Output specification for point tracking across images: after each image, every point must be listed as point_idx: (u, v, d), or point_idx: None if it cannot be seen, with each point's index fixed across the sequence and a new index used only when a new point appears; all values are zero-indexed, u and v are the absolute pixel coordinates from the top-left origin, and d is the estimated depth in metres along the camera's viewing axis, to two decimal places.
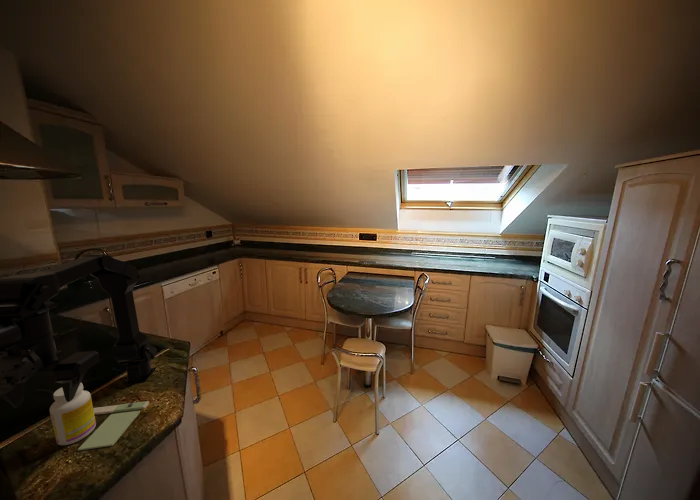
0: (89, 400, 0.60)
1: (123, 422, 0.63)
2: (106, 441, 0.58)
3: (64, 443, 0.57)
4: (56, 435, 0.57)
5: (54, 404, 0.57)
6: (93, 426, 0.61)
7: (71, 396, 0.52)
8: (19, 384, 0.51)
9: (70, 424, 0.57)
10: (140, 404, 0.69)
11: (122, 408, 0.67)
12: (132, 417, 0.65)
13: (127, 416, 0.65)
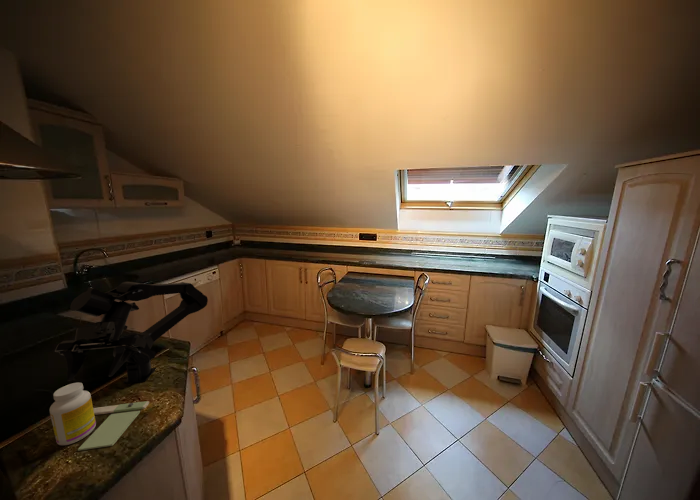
0: (89, 400, 0.60)
1: (123, 422, 0.63)
2: (106, 441, 0.58)
3: (64, 443, 0.57)
4: (56, 435, 0.57)
5: (54, 404, 0.57)
6: (93, 426, 0.61)
7: (113, 371, 0.65)
8: (79, 364, 0.66)
9: (70, 424, 0.57)
10: (140, 404, 0.69)
11: (122, 408, 0.67)
12: (132, 417, 0.65)
13: (127, 416, 0.65)
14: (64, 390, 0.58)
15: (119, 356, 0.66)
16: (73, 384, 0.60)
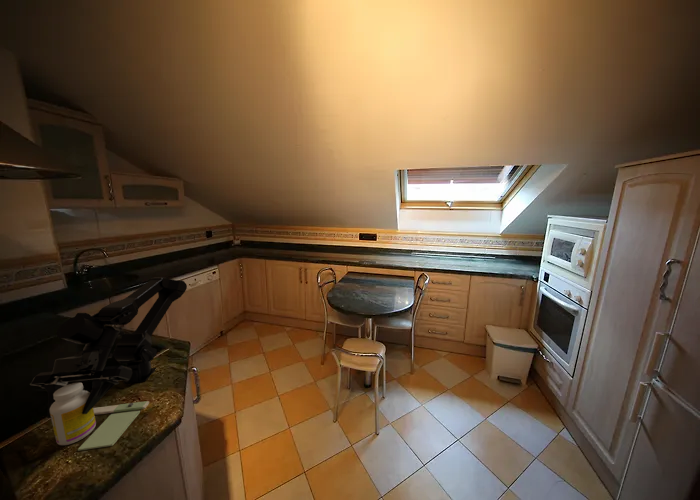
0: None
1: (123, 422, 0.63)
2: (106, 441, 0.58)
3: (64, 443, 0.57)
4: (56, 435, 0.57)
5: (54, 404, 0.57)
6: (93, 426, 0.61)
7: (88, 408, 0.59)
8: None
9: (70, 423, 0.57)
10: (140, 404, 0.69)
11: (122, 408, 0.67)
12: (132, 417, 0.65)
13: (127, 416, 0.65)
14: (64, 390, 0.58)
15: (96, 391, 0.60)
16: (73, 384, 0.60)
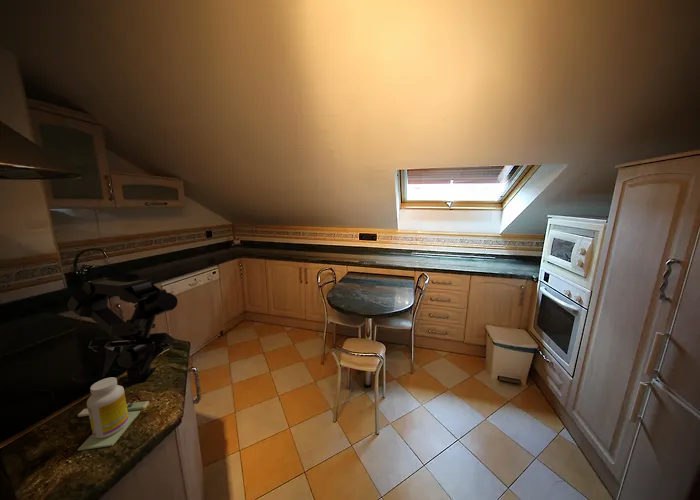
0: (123, 394, 0.62)
1: None
2: (106, 441, 0.58)
3: (101, 436, 0.58)
4: (93, 428, 0.58)
5: (91, 398, 0.58)
6: (127, 420, 0.63)
7: (144, 368, 0.67)
8: (111, 360, 0.68)
9: (107, 417, 0.58)
10: (140, 404, 0.69)
11: None
12: (132, 417, 0.65)
13: None
14: (100, 384, 0.59)
15: (149, 353, 0.68)
16: (107, 379, 0.61)
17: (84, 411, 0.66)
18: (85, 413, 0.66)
